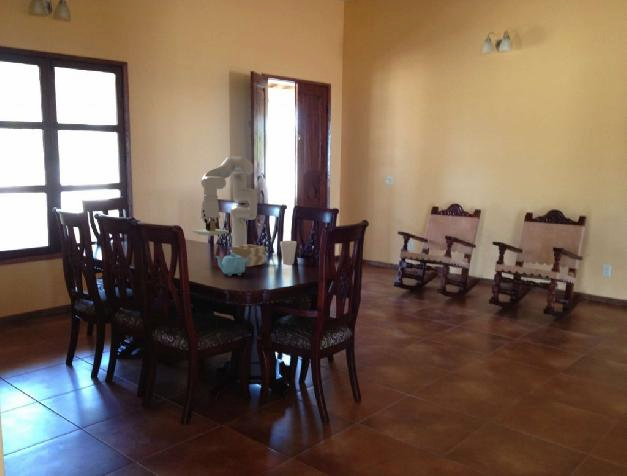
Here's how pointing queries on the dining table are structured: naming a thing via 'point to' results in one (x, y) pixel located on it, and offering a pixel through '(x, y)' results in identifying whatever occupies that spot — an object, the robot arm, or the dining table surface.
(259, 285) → the dining table surface
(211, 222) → the lid
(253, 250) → the box
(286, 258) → the foam cup
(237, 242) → the robot arm
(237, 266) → the teapot
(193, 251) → the dining table surface
